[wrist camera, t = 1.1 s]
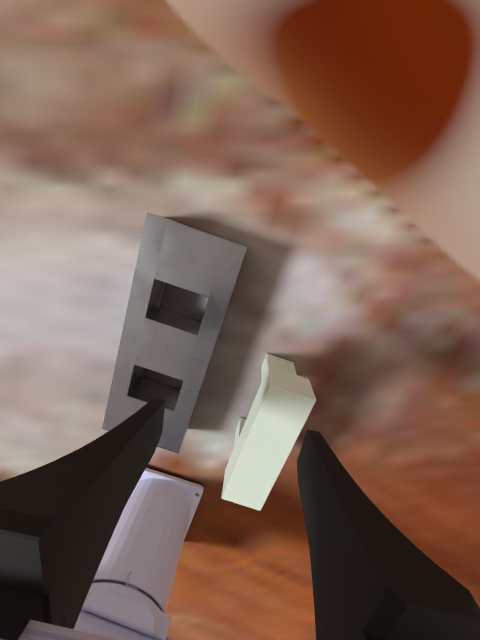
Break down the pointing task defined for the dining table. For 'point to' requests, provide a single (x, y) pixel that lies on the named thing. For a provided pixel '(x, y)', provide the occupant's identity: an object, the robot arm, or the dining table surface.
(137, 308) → the grey block with holes
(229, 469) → the notched cream block
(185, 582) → the dining table surface
